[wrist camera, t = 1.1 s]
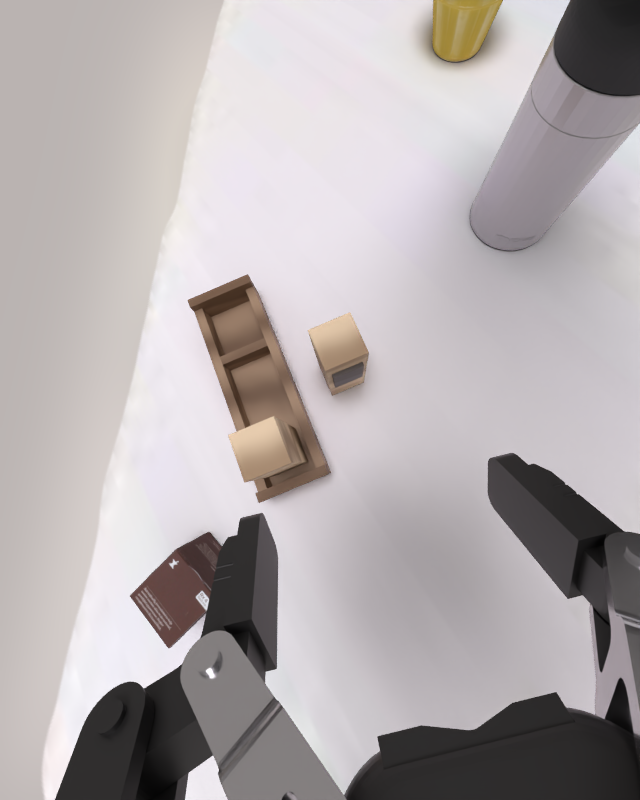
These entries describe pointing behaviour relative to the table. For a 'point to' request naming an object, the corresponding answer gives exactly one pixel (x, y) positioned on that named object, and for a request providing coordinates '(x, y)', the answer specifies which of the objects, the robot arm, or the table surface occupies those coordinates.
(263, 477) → the rail
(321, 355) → the block
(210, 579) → the box
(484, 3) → the plant pot
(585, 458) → the table surface
